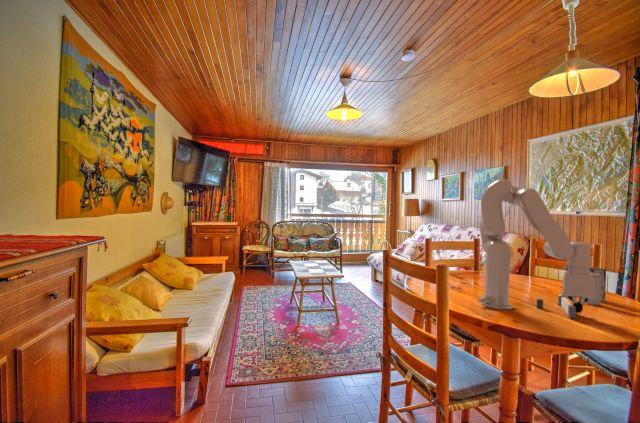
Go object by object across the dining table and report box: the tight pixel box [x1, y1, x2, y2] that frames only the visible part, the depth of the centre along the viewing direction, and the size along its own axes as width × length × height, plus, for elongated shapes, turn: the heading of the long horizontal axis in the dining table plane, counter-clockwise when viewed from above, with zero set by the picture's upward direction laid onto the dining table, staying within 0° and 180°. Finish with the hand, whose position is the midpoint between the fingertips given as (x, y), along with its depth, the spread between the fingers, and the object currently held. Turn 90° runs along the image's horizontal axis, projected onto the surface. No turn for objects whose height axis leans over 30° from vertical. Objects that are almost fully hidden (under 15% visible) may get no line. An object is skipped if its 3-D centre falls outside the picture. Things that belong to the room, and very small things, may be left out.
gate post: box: [557, 293, 568, 307], centre depth 136 cm, size 3×3×5 cm
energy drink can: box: [585, 273, 602, 306], centre depth 140 cm, size 6×6×15 cm
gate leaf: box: [560, 297, 576, 319], centre depth 127 cm, size 2×18×4 cm, turn 148°
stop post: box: [536, 298, 544, 310], centre depth 132 cm, size 2×2×4 cm
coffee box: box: [590, 266, 607, 302], centre depth 148 cm, size 9×6×16 cm
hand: (577, 311), depth 124 cm, fingers closed
